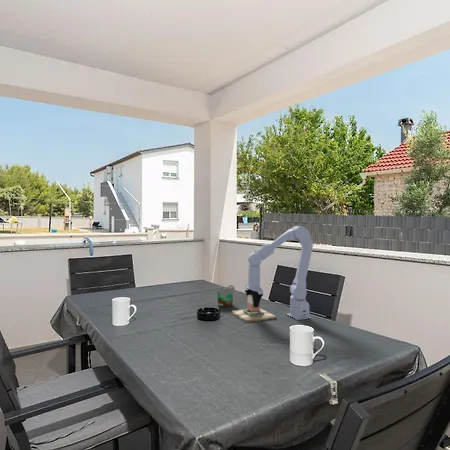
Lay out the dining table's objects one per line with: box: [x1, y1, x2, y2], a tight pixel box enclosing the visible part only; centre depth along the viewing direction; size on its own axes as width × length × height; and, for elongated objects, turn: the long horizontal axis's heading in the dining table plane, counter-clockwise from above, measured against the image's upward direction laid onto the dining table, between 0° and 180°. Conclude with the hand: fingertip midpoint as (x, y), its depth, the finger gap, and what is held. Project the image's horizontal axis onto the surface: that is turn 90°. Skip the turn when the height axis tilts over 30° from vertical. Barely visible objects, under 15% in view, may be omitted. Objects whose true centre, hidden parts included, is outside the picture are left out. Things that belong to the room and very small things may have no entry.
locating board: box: [231, 307, 277, 323], centre depth 175 cm, size 16×16×2 cm
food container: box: [216, 284, 236, 308], centre depth 194 cm, size 12×6×10 cm, turn 143°
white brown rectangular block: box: [246, 295, 261, 311], centre depth 175 cm, size 4×4×7 cm
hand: (253, 305), depth 175 cm, fingers closed on white brown rectangular block, 4 cm apart
